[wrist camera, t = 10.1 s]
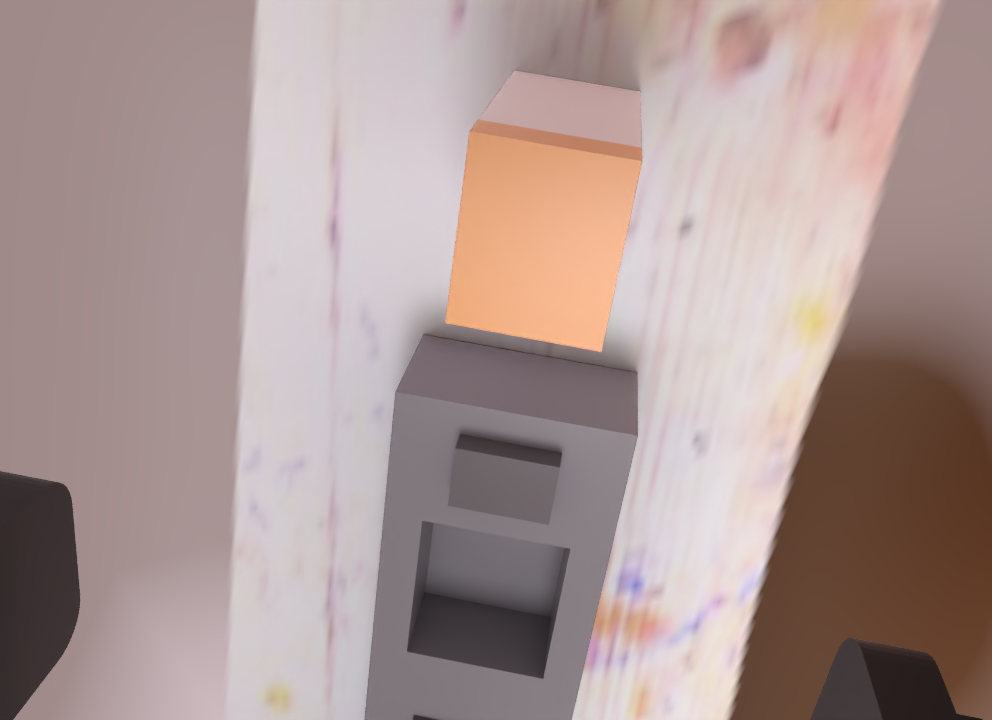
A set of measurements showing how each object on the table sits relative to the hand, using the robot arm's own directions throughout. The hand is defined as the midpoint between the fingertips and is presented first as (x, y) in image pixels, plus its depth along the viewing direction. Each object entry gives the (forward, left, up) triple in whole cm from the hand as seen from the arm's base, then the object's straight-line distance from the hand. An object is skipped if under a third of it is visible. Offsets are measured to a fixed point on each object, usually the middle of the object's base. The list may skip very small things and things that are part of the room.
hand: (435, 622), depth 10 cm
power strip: (-17, -4, -20) cm, 26 cm away
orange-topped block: (0, 0, -20) cm, 20 cm away
